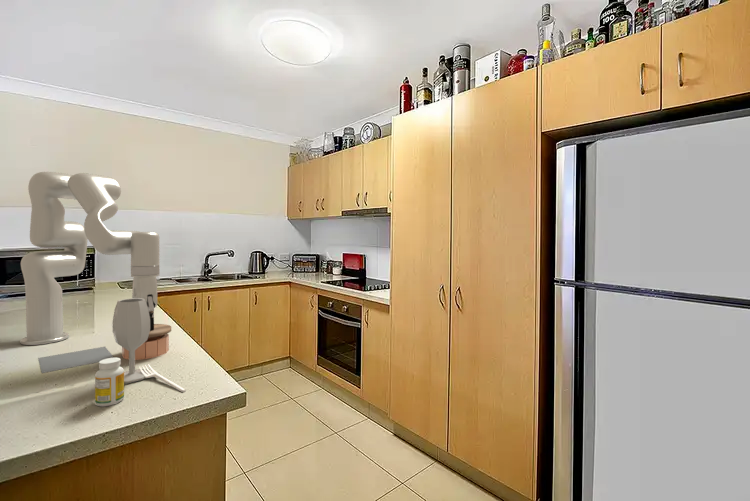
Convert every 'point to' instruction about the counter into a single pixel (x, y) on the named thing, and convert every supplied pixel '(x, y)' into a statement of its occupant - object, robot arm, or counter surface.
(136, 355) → the bowl
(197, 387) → the counter surface
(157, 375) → the fork
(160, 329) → the lid
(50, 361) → the mat
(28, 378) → the counter surface
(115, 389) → the supplement bottle
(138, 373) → the wineglass
